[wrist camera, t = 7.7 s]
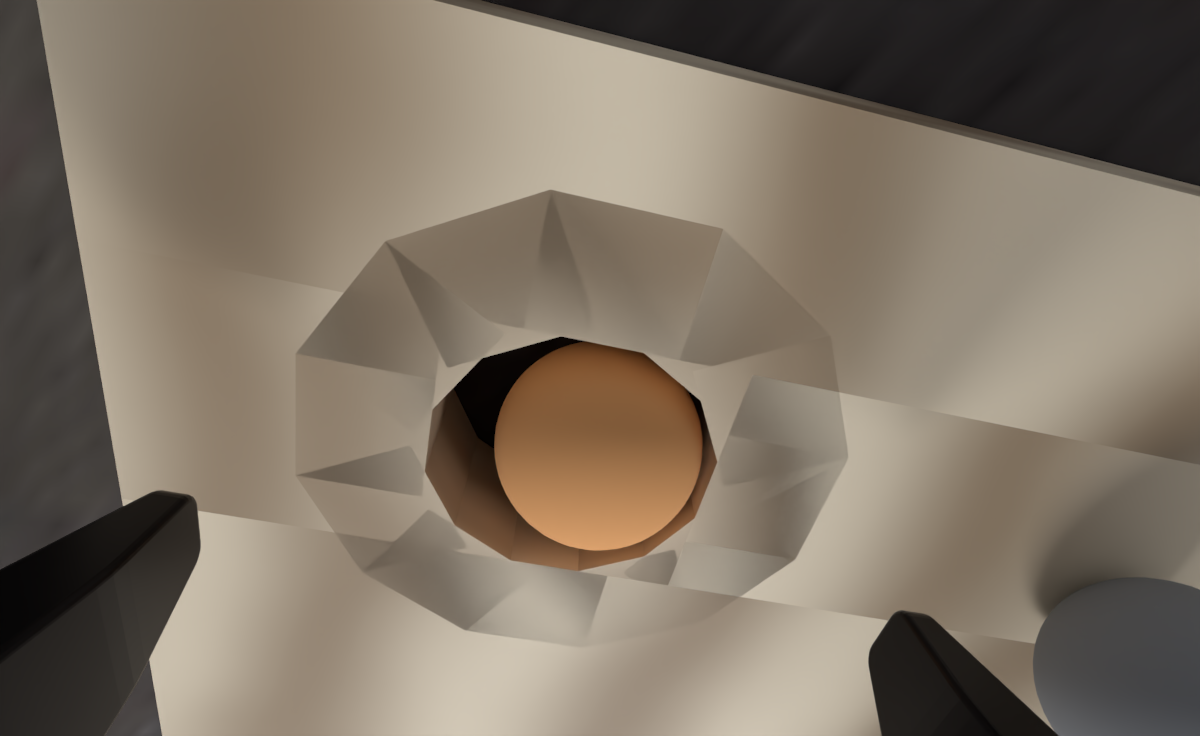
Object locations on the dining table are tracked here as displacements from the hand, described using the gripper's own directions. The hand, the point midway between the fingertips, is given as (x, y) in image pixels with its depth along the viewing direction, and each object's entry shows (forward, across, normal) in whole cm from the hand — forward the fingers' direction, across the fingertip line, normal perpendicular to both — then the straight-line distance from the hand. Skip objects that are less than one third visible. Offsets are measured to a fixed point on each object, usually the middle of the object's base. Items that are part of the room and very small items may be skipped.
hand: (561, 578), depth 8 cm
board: (+5, -3, +6) cm, 8 cm away
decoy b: (+1, -10, +1) cm, 10 cm away
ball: (+3, 0, 0) cm, 3 cm away
